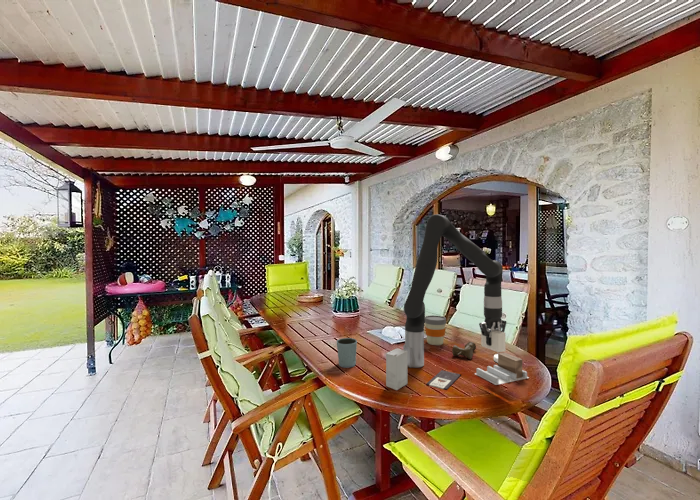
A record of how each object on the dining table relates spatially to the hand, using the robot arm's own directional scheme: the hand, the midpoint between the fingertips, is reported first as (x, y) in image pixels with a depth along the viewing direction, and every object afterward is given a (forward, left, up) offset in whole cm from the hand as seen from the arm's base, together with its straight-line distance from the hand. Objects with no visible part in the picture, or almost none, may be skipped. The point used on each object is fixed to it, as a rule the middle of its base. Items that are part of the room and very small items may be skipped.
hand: (493, 344), depth 154 cm
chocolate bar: (-20, +8, -16) cm, 27 cm away
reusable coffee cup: (+8, +54, -16) cm, 57 cm away
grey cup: (-53, +42, -16) cm, 70 cm away
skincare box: (-42, +11, -16) cm, 47 cm away
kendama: (+10, +30, -16) cm, 35 cm away
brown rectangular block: (+10, 0, -15) cm, 18 cm away
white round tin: (+20, +13, -16) cm, 28 cm away
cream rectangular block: (0, 0, -2) cm, 2 cm away
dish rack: (+5, 0, -16) cm, 16 cm away
